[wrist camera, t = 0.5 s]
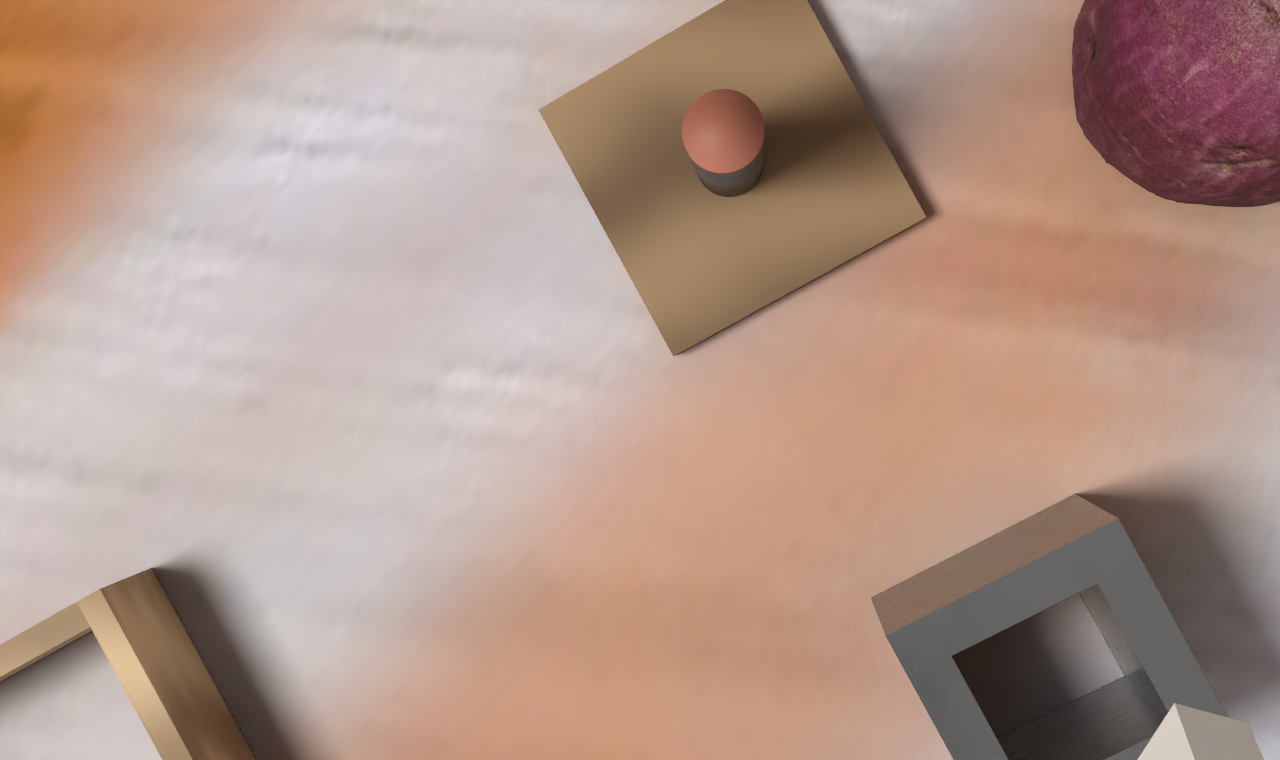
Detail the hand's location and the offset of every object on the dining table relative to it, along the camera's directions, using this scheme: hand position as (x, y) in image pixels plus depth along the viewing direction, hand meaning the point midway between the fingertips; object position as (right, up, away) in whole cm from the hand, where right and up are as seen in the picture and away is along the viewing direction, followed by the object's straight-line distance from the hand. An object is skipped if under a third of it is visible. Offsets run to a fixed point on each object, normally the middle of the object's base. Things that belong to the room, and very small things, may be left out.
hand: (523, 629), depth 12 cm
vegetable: (+21, +14, +28) cm, 37 cm away
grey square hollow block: (+15, -7, +29) cm, 33 cm away
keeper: (+4, +10, +29) cm, 31 cm away
